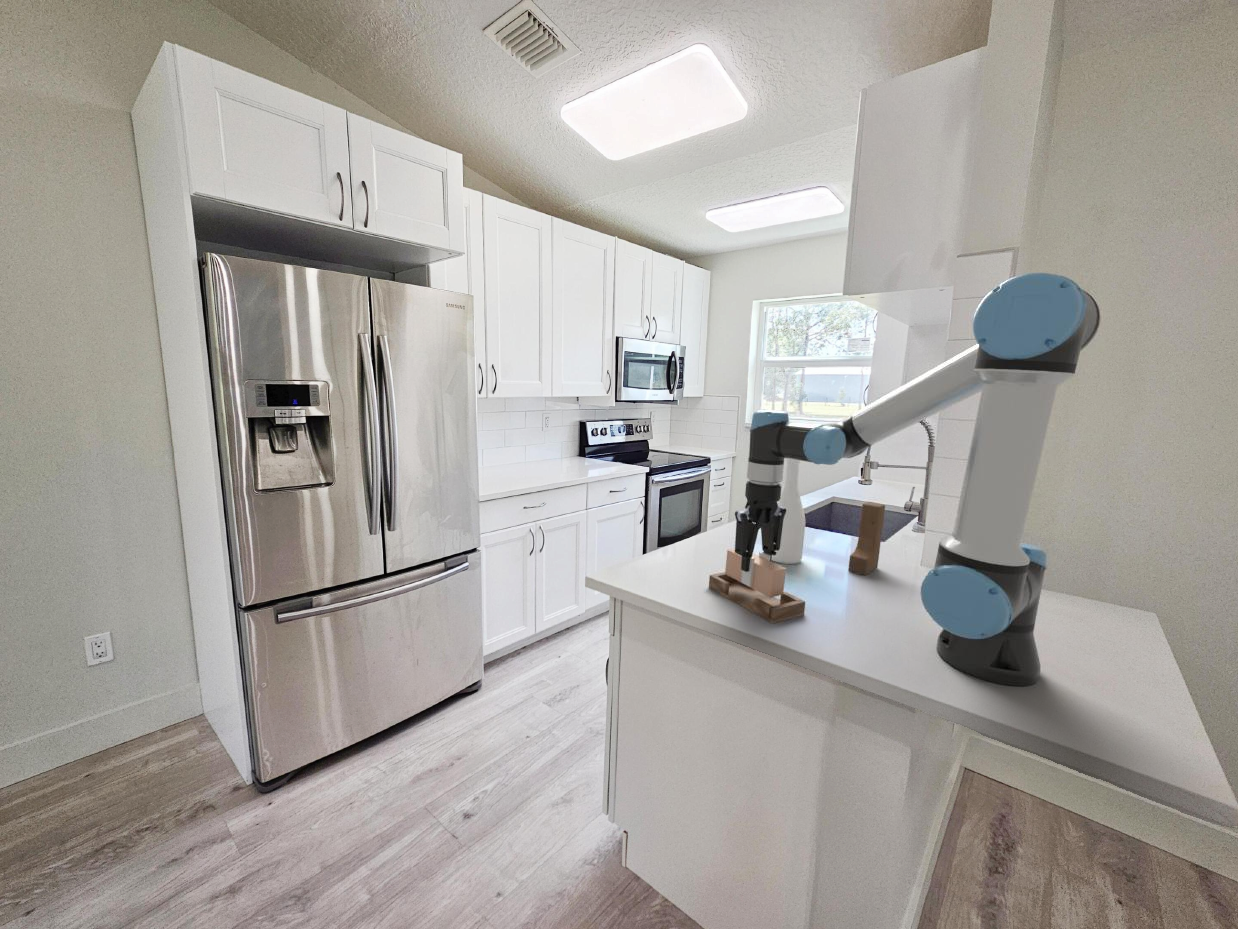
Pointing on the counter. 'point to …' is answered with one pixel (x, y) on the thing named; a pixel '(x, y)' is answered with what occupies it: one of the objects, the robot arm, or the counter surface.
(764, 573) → the peach rectangular block
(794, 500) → the wine bottle
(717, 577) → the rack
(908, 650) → the counter surface
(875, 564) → the wooden block
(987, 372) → the robot arm
